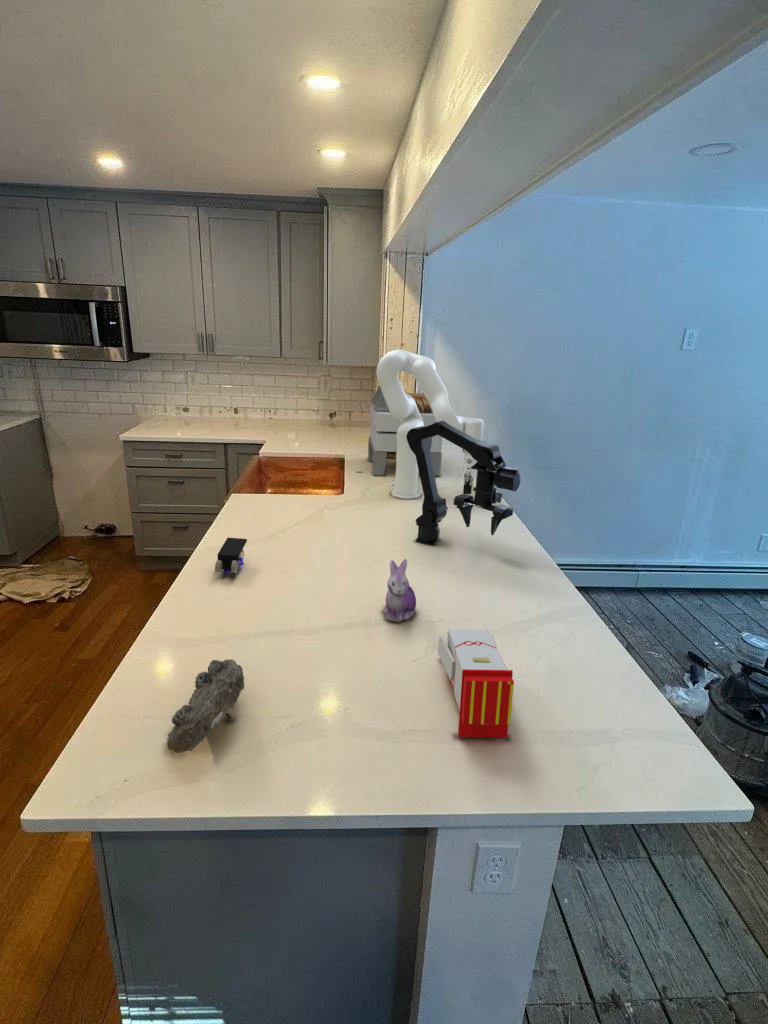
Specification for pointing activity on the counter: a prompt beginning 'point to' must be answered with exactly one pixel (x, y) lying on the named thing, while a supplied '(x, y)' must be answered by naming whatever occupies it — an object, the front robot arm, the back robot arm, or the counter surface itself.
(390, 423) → the grey crate stand
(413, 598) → the figurine
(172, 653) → the counter surface
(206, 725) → the fossil
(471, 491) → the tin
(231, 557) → the black toy car
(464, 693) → the toy
